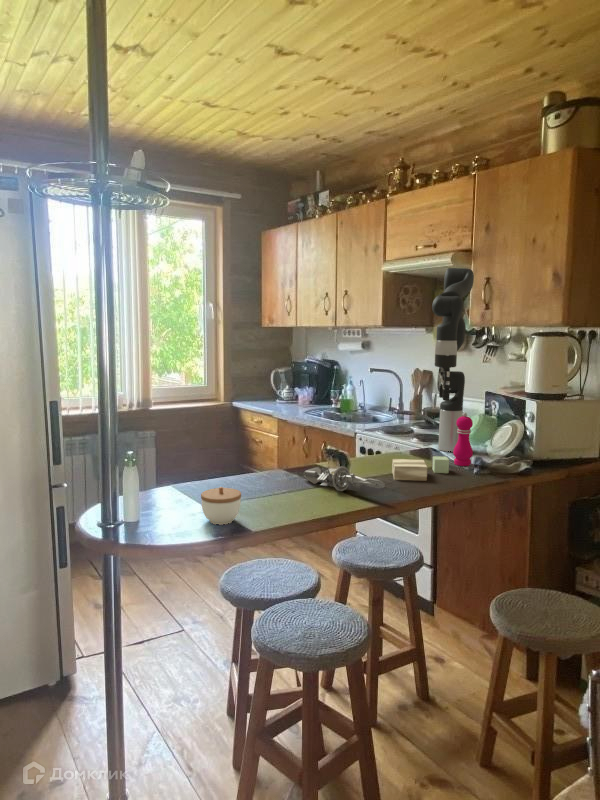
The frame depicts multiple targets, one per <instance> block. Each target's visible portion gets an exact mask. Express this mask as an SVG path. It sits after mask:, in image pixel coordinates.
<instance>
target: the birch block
mask: <svg viewBox="0 0 600 800" xmlns="http://www.w3.org/2000/svg"><path fill="white" fill-rule="evenodd" d="M391 468H392V469H391V473H392V476H393V480H394V481H395V480H397V481H421V482H423V481H428V479H427V478H428V466H427V464H426V462H425V460H424V459H410V458H409V459H408V458H407V459H406V458H392V464H391Z"/></svg>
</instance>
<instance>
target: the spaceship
mask: <svg viewBox="0 0 600 800" xmlns="http://www.w3.org/2000/svg"><path fill="white" fill-rule="evenodd" d="M332 472H333V473H332ZM303 478H305V479H306V480H307V481H308V482H311V483H312V484H314V485H315V484H318V483H319V482H320V481H324V480H325V481H324V482H322V483H321V484H319V486H325V487H326V486H330V487H334V488H335V490H336V491H338V492H343V491H345V490H346V489H348V487H349V486H350V485H353V486H354V487H355V488H358V487H359V486H369V487H370V488H374V489H375V488H376V489H383V488H385V487H386V483H385V482H383V481H382V480H380V479H376V478H364V477H363V478H362V477H359V476H356V475H355V474H354V473H351V472H350V471H349V469H348V468H347V467H346V466H339V467H337V468H328V467H321V468H320V467H319V466H315V467H312V468H308V469H307V470H304V476H303Z"/></svg>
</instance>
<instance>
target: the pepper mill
mask: <svg viewBox="0 0 600 800" xmlns="http://www.w3.org/2000/svg"><path fill="white" fill-rule="evenodd" d="M473 422H474V421H473V420H472V418H471V417H469V416H468V413H467V412H465V411H464V412H462V417H459V418H458V419H457V422H456V425H457V427H458V429H457V430H458V431H457V433H458V441H457V444H456V446H455V447H454V451H453V452H452V453H453V456H454V457H455V458H454V460H453V464H454V465H456V466H460V467H469V465H470V464H471V465H472V460H471V458H472V457H473V454H474V451H473V448H472V445H471V442H470V435H471V433H472V429H471V428H472V427H473V425H474V423H473ZM471 465H470V466H471Z"/></svg>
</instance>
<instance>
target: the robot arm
mask: <svg viewBox="0 0 600 800" xmlns="http://www.w3.org/2000/svg"><path fill="white" fill-rule="evenodd" d="M474 276H475V275H474V271H473V270H472V269H470V268H467V267H466V268H462V267H461V268H460V267H458V268H457V267H449V268H446V270H445V272H444V277H443V278H444V279H443V292H442V293H439V294H438V295H437V296H436V297H435V298H434V299H433V301H432V305H431V309H432V313H433V314H434V315H435V316H436V317H442V323H440V324H438V325H437V326H436V336H435V337H436V341H435V349H434V366H435V367H436V368H438V373H437V383H436V384H437V385H436V386H437V391H438V393H439V394H438V396H439V398H441V399H442V401H441V402H440V403H439V404H440V405H439V420H438V421H439V422H438V423H439V426H438V427H439V428H438V447H437V449H438V450H439V451H442V452H448V451H449V452H448V453H453V451H454V447H455V446H456V444H457V441H458V433H457V431H458V430H457V429H458V427H457V425H456V422H457V419H458V418H459V417H462V416H463V415H462V414H463V413H464V412H463V411H464V410H463V407H464V393H465V385H466V384H465V383H466V378H465V373H464V372H463V371H457V370H456V371H455V370H454V371H453V370H451V368H456V367H457V364H458V363H457V358H458V357H457V356H458V351H460V349H461V348H462V346H463V344H464V342H465V339H466V337H465V336H466V335H465V334H466V322H465V320H464V319H463V316H462V313H463V310H464V307H465V306H464V305H465V303H464V300H463V298H464V297H466V295H467V294H469V293H470V292H471V291H472V289H473V287H474V279H475V277H474ZM450 394H454V395H453V396H452V397H451V398H450ZM450 451H451V452H450Z"/></svg>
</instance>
